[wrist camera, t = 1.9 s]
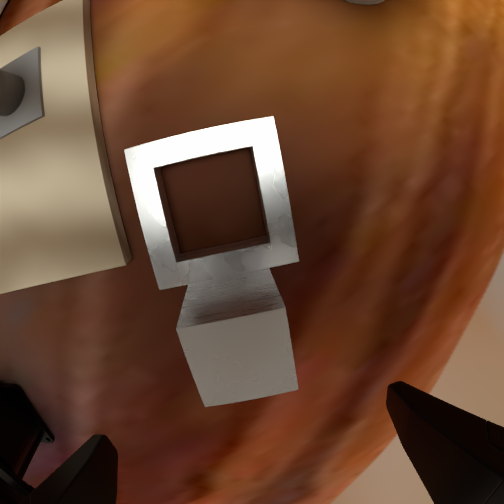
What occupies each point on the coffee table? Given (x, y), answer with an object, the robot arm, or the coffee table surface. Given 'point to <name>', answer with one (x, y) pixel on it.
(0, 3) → the candy box
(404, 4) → the coffee table surface
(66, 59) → the board
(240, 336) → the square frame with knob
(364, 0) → the house plant
